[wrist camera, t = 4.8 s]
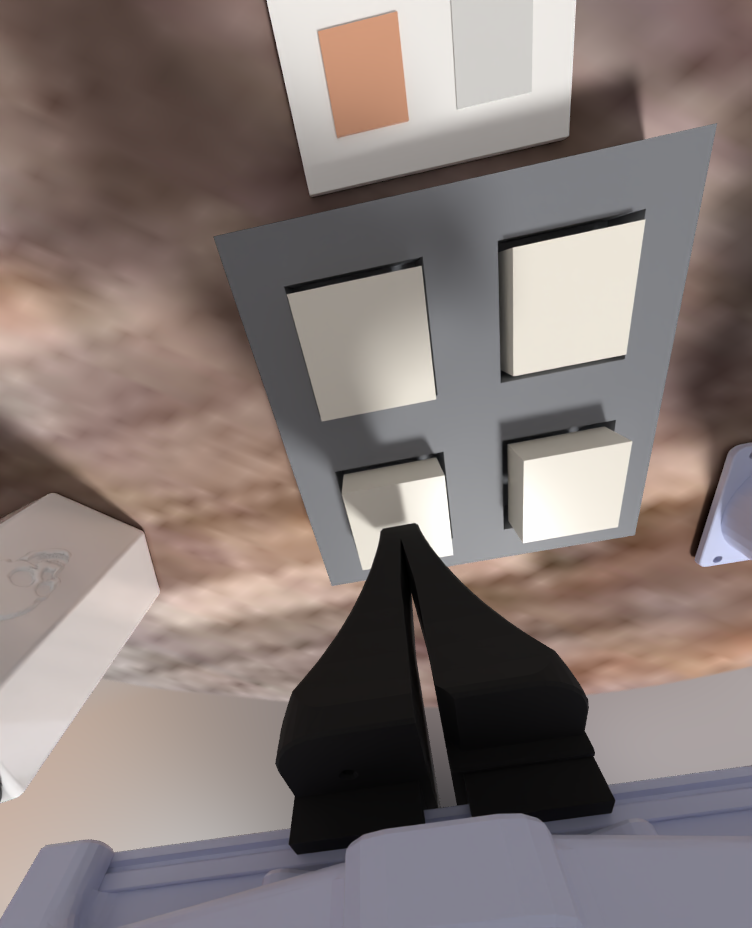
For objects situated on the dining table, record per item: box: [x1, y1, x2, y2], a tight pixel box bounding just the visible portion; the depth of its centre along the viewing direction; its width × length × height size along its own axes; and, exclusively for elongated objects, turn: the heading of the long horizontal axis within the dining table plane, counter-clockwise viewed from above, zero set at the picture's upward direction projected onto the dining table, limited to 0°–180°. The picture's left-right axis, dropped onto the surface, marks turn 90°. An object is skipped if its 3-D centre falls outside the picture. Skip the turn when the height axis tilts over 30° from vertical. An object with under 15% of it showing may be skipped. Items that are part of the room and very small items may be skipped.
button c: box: [287, 266, 436, 421], centre depth 11 cm, size 4×4×2 cm
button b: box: [507, 426, 632, 543], centre depth 14 cm, size 4×4×2 cm
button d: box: [342, 458, 453, 570], centre depth 14 cm, size 4×4×2 cm
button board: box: [214, 123, 717, 586], centre depth 14 cm, size 15×15×3 cm
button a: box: [498, 219, 646, 376], centre depth 12 cm, size 4×4×2 cm
